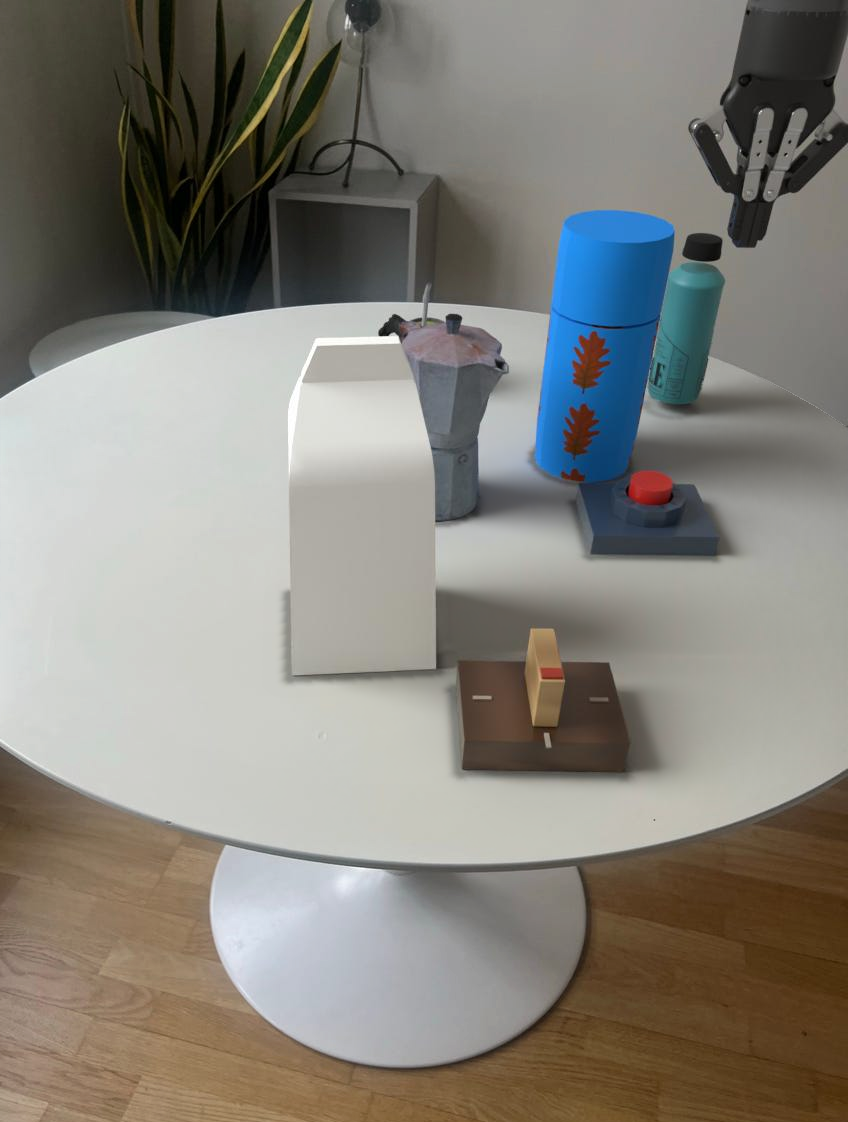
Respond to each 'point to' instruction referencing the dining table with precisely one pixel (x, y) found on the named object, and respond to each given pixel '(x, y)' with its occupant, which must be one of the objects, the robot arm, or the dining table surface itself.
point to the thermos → (601, 341)
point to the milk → (360, 512)
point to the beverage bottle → (687, 323)
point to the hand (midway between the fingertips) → (742, 244)
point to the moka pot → (451, 400)
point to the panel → (515, 744)
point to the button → (650, 488)
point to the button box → (644, 521)
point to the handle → (544, 677)
